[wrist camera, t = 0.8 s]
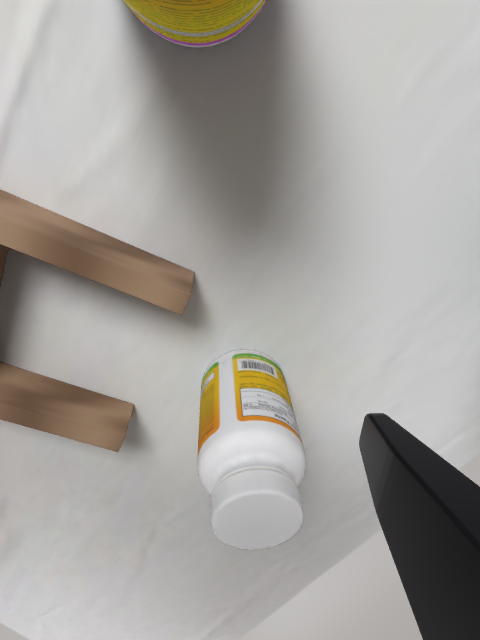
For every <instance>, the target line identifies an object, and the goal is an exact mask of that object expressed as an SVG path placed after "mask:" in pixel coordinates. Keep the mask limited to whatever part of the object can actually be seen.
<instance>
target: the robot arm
mask: <svg viewBox="0 0 480 640" xmlns="http://www.w3.org/2000/svg"><path fill="white" fill-rule="evenodd" d="M359 446H360V451H361V455H362V459H363V463H364V467H365V471H366V475H367V479H368V483H369V487H370V491H371V495H372V498H373V502H374V506H375V509H376V513H377V516H378V519H379V522H380V524H381V527H382V530H383V533H384V535H385V538H386V541H387V543H388V546H389V549H390V551H391V554H392V557H393V559H394V562H395V565H396V567H397V570H398V573H399V576H400V578H401V581H402V584H403V587H404V589H405V592H406V595H407V597H408V600H409V603H410V605H411V608H412V611H413V614H414V616H415V619H416V621H417V624H418V627H419V630H420V633H421V635H422V638H423V640H480V487H479V486H478V485H477V484H475V483H474V482H473V481H472V480H470V479H469V478H468V477H466V476H465V475H464V474H463V473H461V472H460V471H459V470H457V469H456V468H455V467H453V466H452V465H451V464H450V463H448V462H447V461H446V460H444V459H443V458H442V457H440V456H439V455H438V454H437V453H435V452H434V451H433V450H431V449H430V448H429V447H427V446H426V445H425V444H424V443H422V442H421V441H420V440H418V439H417V438H416V437H414V436H413V435H412V434H411V433H409V432H408V431H407V430H405V429H404V428H403V427H401V426H400V425H399V424H398V423H396V422H395V421H394V420H392V419H391V418H390V417H389V416H387V415H386V414H383V413H369V414H367V415H366V416H365V418H364V422H363V426H362V431H361V435H360V439H359Z"/></svg>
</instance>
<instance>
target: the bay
mask: <svg viewBox="0 0 480 640" xmlns="http://www.w3.org/2000/svg"><path fill="white" fill-rule="evenodd" d="M8 248H12V249H14V250H17V251H19V252H22V253H24V254H27V255H30V256H32V257H35V258H37V259H40V260H42V261H45V262H47V263H50V264H53V265H55V266H58V267H60V268H63V269H65V270H68V271H71V272H73V273H76V274H78V275H81V276H83V277H86V278H88V279H91V280H94V281H96V282H99V283H101V284H104V285H106V286H109V287H111V288H114V289H117V290H119V291H122V292H124V293H127V294H129V295H132V296H134V297H137V298H140V299H142V300H145V301H147V302H150V303H152V304H155V305H158V306H160V307H163V308H165V309H168V310H170V311H173V312H175V313H178V314H181V315H182V314H183V311H184V309H185V307H186V305H187V303H188V301H189V299H190V296H191V293H192V286H193V279H194V272H193V271H190V270H188V269H186V268H183V267H181V266H179V265H176V264H174V263H172V262H169V261H167V260H165V259H162V258H160V257H158V256H155V255H153V254H150V253H148V252H146V251H143V250H141V249H139V248H136V247H134V246H132V245H129V244H127V243H125V242H122V241H120V240H118V239H115V238H113V237H111V236H108V235H106V234H103V233H101V232H99V231H96V230H94V229H92V228H89V227H87V226H85V225H82V224H80V223H78V222H75V221H73V220H71V219H68V218H66V217H63V216H61V215H59V214H56V213H54V212H52V211H49V210H47V209H45V208H42V207H40V206H38V205H35V204H33V203H31V202H28V201H26V200H24V199H21V198H19V197H16V196H14V195H12V194H9V193H7V192H5V191H2V190H0V285H1V280H2V275H3V271H4V266H5V262H6V257H7V252H8ZM133 406H134V404H131V403H128V402H124V401H121V400H118V399H115V398H112V397H109V396H105V395H102V394H99V393H96V392H93V391H90V390H86V389H83V388H80V387H77V386H74V385H71V384H67V383H64V382H61V381H58V380H55V379H52V378H48V377H45V376H42V375H39V374H36V373H33V372H29V371H26V370H23V369H20V368H17V367H14V366H10V365H7V364H4V363H1V362H0V419H1V420H5V421H8V422H12V423H15V424H19V425H23V426H26V427H30V428H33V429H37V430H41V431H44V432H48V433H51V434H55V435H58V436H62V437H66V438H69V439H73V440H76V441H80V442H83V443H87V444H91V445H94V446H98V447H101V448H105V449H108V450H112V451H116V452H118V451H119V449H120V447H121V445H122V443H123V440H124V438H125V435H126V431H127V428H128V424H129V421H130V417H131V413H132V410H133Z"/></svg>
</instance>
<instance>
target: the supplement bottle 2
mask: <svg viewBox="0 0 480 640" xmlns="http://www.w3.org/2000/svg"><path fill="white" fill-rule="evenodd" d="M197 463H198V476H199V480H200V482H201V484H202V486H203V488H204V489H205V491H206V492H207V493H208V494H209V495H210V496H211V500H210V506H211V527H212V530H213V532H214V534H215V536H216V537H217V538H218V539H219V540H220V541H222V542H223V543H225V544H227V545H229V546H231V547H235V548H239V549H244V550H258V549H266V548H270V547H274V546H277V545H279V544H281V543H284V542H286V541H287V540H289V539H290V538H291V537H293V536H294V535H295V534H296V533H297V532H298V531H299V529H300V527H301V525H302V523H303V517H304V516H303V508H302V503H301V497H300V491H299V488H298V487H299V486H300V484H301V482H302V480H303V478H304V475H305V471H306V457H305V452H304V448H303V444H302V440H301V437H300V434H299V430H298V426H297V423H296V419H295V415H294V412H293V408H292V404H291V401H290V397H289V393H288V389H287V385H286V382H285V378H284V375H283V372H282V370H281V368H280V367H279V365H278V364H277V363H276V362H275V361H274V360H273V359H272V358H270V357H269V356H267V355H265V354H263V353H261V352H258V351H253V350H236V351H232V352H228V353H226V354H224V355H222V356H220V357H218V358H217V359H216V360H214V361H213V362H212V363H211V364H210V365H209V367H208V368H207V370H206V371H205V373H204V376H203V379H202V384H201V402H200V421H199V440H198V460H197Z"/></svg>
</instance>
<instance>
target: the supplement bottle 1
mask: <svg viewBox="0 0 480 640" xmlns="http://www.w3.org/2000/svg"><path fill="white" fill-rule="evenodd" d="M123 1H124V3H125V4H126V5H127V6H128V8H129V9H130V10H131V11H132V12H133V13H134V15H135V16H136V17H137V18H138V19H139V20H140V21H141V22H142V23H143V24H144V25H145V26H147V27H148V28H149V29H150V30H151V31H153V32H154V33H156V34H157V35H159V36H160V37H162V38H164V39H166V40H168V41H170V42H172V43H175V44H179V45H183V46H187V47H209V46H214V45H217V44H220V43H223V42H225V41H227V40H229V39H231V38H233V37H234V36H236V35H237V34H239V33H240V32H241V31H243V30H244V29H245V28H246V27H247V26H248V25H249V24H250V23H251V22H252V21H253V20H254V18H255V17H256V16H257V15H258V13H259V12H260V10H261V9H262V7H263V6H264V4H265V2H266V0H123Z"/></svg>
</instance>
